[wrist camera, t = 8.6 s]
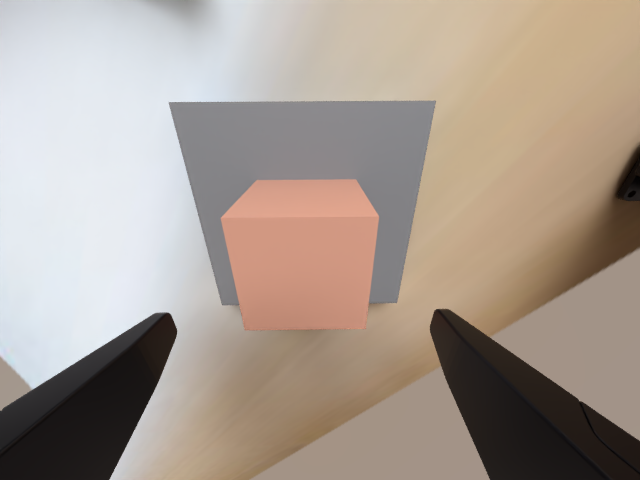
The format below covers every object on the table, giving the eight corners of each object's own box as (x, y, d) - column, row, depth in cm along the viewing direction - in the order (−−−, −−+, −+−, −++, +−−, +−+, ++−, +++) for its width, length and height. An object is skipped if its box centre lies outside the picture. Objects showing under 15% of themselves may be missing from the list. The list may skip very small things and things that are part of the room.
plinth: (417, 103, 15) (435, 100, 12) (388, 283, 21) (396, 303, 19) (191, 104, 14) (168, 102, 12) (232, 285, 21) (222, 305, 19)
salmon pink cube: (355, 179, 14) (379, 216, 9) (350, 262, 17) (365, 328, 12) (256, 180, 14) (220, 218, 9) (267, 263, 17) (244, 330, 12)
